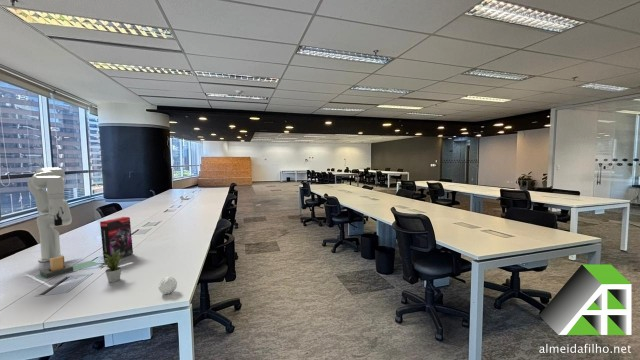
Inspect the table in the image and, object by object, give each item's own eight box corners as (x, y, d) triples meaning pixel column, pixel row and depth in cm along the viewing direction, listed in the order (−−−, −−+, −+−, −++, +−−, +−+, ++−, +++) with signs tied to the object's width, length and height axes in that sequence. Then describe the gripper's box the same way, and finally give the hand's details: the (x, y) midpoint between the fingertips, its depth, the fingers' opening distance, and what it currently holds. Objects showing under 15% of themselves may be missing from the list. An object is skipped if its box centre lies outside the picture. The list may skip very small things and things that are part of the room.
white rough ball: (157, 298, 127) (156, 282, 127) (160, 291, 134) (159, 276, 134) (176, 294, 131) (175, 279, 130) (178, 288, 138) (177, 273, 137)
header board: (35, 277, 156) (34, 270, 156) (90, 262, 179) (90, 256, 178) (43, 281, 150) (43, 274, 149) (99, 265, 172) (99, 259, 172)
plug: (50, 273, 157) (49, 258, 157) (63, 270, 162) (62, 255, 162) (53, 274, 156) (52, 259, 155) (65, 271, 161) (64, 256, 160)
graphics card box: (110, 262, 177) (107, 221, 176) (102, 262, 179) (99, 221, 177) (133, 254, 194) (131, 216, 192) (125, 253, 195) (123, 216, 194)
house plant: (102, 276, 154) (100, 248, 153) (131, 272, 159) (129, 245, 158) (93, 287, 141) (91, 256, 140) (125, 282, 146) (123, 252, 145)
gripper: (43, 196, 167) (45, 225, 168) (52, 197, 160) (55, 228, 161) (59, 195, 174) (61, 223, 175) (69, 196, 166) (71, 225, 168)
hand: (58, 225), depth 168 cm, fingers closed
